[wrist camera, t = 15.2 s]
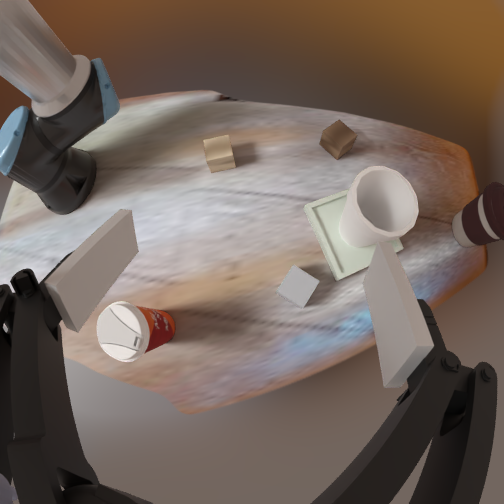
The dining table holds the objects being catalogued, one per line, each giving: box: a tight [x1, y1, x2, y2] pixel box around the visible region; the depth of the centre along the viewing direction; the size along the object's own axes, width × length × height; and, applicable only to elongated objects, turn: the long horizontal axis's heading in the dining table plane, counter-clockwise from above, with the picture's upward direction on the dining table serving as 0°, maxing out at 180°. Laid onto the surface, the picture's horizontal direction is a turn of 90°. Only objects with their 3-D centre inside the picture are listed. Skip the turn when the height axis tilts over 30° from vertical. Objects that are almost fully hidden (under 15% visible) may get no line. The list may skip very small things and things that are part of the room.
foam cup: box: [339, 166, 419, 248], centre depth 36 cm, size 10×9×13 cm
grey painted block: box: [276, 265, 320, 308], centre depth 40 cm, size 4×4×4 cm
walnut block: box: [320, 120, 357, 160], centre depth 45 cm, size 4×4×4 cm
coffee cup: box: [452, 182, 504, 247], centre depth 35 cm, size 10×10×15 cm
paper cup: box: [97, 301, 175, 362], centre depth 36 cm, size 8×8×14 cm
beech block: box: [203, 134, 236, 173], centre depth 46 cm, size 4×4×4 cm
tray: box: [304, 188, 404, 281], centre depth 43 cm, size 13×13×2 cm
